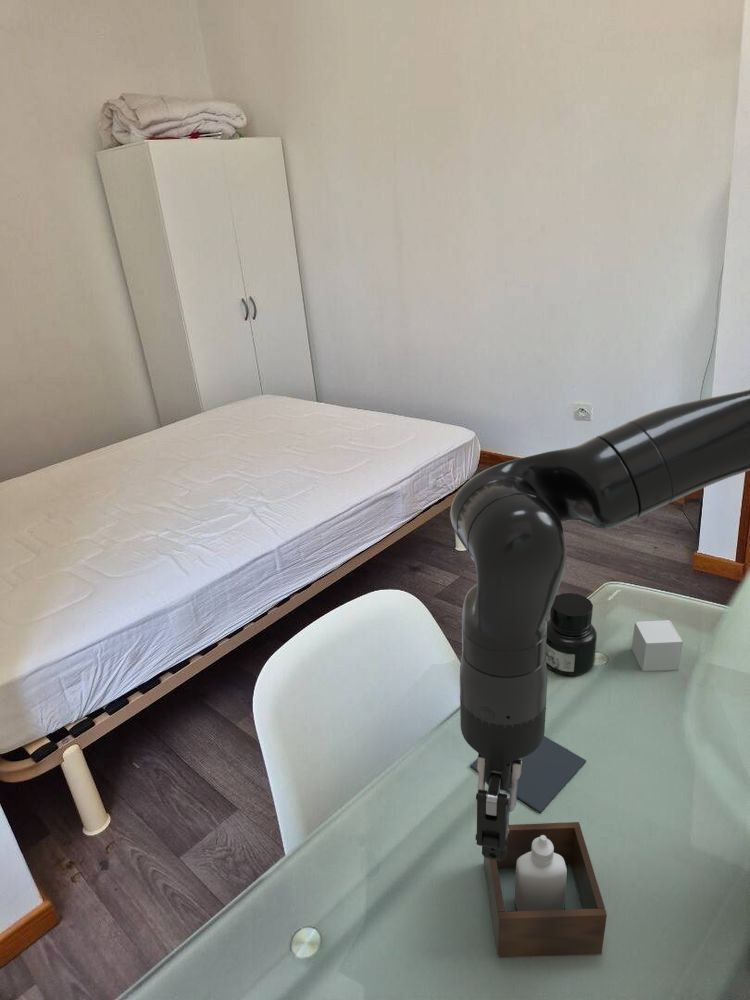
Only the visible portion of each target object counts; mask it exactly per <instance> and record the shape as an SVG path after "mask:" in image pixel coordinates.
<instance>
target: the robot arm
mask: <svg viewBox="0 0 750 1000" xmlns="http://www.w3.org/2000/svg"><path fill="white" fill-rule="evenodd" d="M749 471H750V389H746V390H742V391H741V390H740V391H738V392H732V393H728V394H722V395H717V396H712V397H708V398H702V399H697V400H692V401H687V402H682V403H679V404H675V405H674V404H673V405H671V406H670V405H669V406H667V407H663V408H661V409H660V408H659V409H657V410H654V411H652V412H649V413H646V414H644V415H641V416H639V417H637V418H634V419H632V420H630V421H628V422H626V423H623V424H620V425H618V426H616V427H614V428H612V429H610V430H607V431H605V432H603V433H601V434H599V435H596V436H595V437H593V438H591V439H589V440H586V441H585V442H583V443H581V444H578V445H576V446H572V447H568V448H562V449H556V450H549V451H545V452H541V453H537V454H533V455H528V456H524V457H520V458H515V459H512V460H508V461H504V462H501V463H498V464H495V465H493V466H491V467H488V468H486V469H484V470H483V471H481V472H479V473H477V474H475V475H474V476H472V477H471V478H470V479H468V481H466V482H465V483H464V484H463V485H462V486H461V487H460V489H459V490H458V491H457V493H456V494H455V496H454V498H453V500H452V503H451V505H450V513H449V515H450V516H449V517H450V522H451V525H452V528H453V531H454V533H455V534H456V537H457V538H458V539H459V541H460V543H461V544H462V545H463V547H464V549H465V550H466V552H467V553H468V555H469V556H470V558H471V560H472V561H473V563H474V568H475V574H476V583H475V584H474V585H473V586H472V587H470V589H469V590H468V591H467V592H466V595H465V597H464V600H463V603H462V610H461V647H462V648H461V657H460V663H459V713H460V714H459V715H460V716H459V718H460V724H459V725H460V732H461V735H462V737H463V739H464V740H465V742H466V743H467V744H468V746H469V747H470V748H472V749H473V750H474V751H475V752H477V753H478V754H477V759H478V761H477V770H478V772H477V773H478V782H477V783H478V784H477V792H476V794H475V800H476V833H475V841H476V845H477V846H481V854H482V856H483V858H484V857H485V858H488V859H492V860H497V861H504V860H505V859H506V854H507V835H508V834H509V831H510V828H508V825H510V824H509V823H510V813H511V812H513V811H514V810H515V808H516V806H517V798H516V797H517V785H518V779H519V778H520V775H521V770H522V758H523V757H525V756H527V755H529V754H531V753H532V752H534V751H535V750H536V749H537V748H538V747H539V745H540V744H541V742H542V740H543V737H544V736H545V732H546V731H545V729H546V714H547V713H546V712H547V711H546V710H547V697H548V695H547V693H548V667H547V665H546V641H547V621H548V616H549V614H550V613H551V608H552V605H553V603H554V600H555V597H556V595H558V592H559V589H560V586H561V583H562V579H563V577H564V574H565V570H566V566H567V560H568V559H567V558H568V547H567V546H568V545H567V538H566V534H565V529H564V526H563V523H562V522H565V521H572V520H574V521H579V522H583V523H586V524H588V525H591V526H593V527H595V528H599V529H604V530H605V529H613V528H616V527H619V526H622V525H624V524H627V523H629V522H631V521H633V520H636V519H637V518H641V517H642V516H645V515H647V514H649V513H651V512H654V511H655V510H659V509H660V508H662V507H664V506H667V505H668V504H671V503H673V502H676V501H677V500H680V499H682V498H684V497H686V496H688V495H690V494H692V493H695V492H698V491H699V490H702V489H704V488H706V487H709V486H711V485H714V484H717V483H719V482H721V481H724V480H726V479H729V478H732V477H735V476H737V475H741V474H743V473H746V472H749ZM486 785H487V786H488V787H487V790H486ZM510 787H511V791H510V793H509V797H508V793H503V792H502V793H501V791H506V790H508V789H509V788H510Z"/></svg>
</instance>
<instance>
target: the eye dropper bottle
mask: <svg viewBox="0 0 750 1000" xmlns="http://www.w3.org/2000/svg"><path fill="white" fill-rule="evenodd" d="M567 869H568V868H567V865H565V861H564V859H563V857H562V856H560V855H559V854H557V853H554V846H553V844H552V842H551V841H550V840H549V839H547V838H546V836H545V835H541V836H540V837H538V838H536V839H534V840H533V842H532V850H531V852H528V853H526V854H524V855H522V856H520V857H519V858H518V859H517V863H516V867H515V877H514V878H515V882H514V902H515V907H516V911H542V910H565V900H566V889H567V877H568V876H567V875H568V873H567V872H568V871H567Z"/></svg>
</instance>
